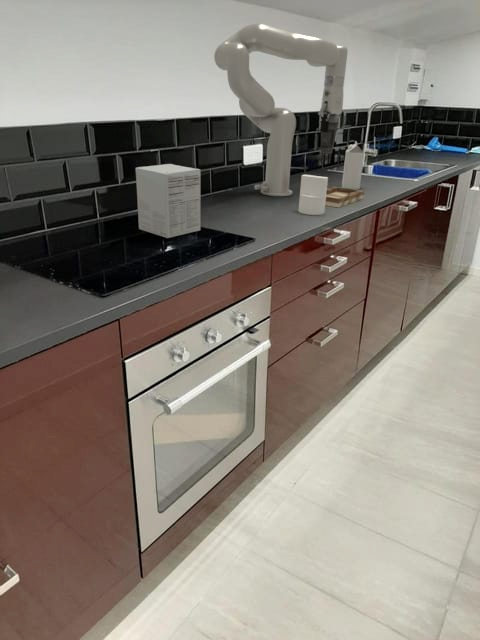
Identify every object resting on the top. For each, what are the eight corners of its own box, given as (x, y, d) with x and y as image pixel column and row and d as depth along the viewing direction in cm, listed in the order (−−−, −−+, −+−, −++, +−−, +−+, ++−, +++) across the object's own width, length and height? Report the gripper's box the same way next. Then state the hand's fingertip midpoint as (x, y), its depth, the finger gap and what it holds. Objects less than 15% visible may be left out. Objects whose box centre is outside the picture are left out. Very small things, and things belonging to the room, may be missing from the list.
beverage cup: (321, 154, 196) (327, 99, 188) (314, 151, 203) (319, 98, 194) (338, 154, 198) (344, 100, 190) (330, 152, 205) (336, 99, 196)
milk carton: (357, 186, 219) (363, 141, 211) (359, 189, 212) (365, 143, 204) (341, 185, 219) (347, 140, 211) (342, 188, 213) (348, 142, 205)
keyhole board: (338, 207, 179) (339, 198, 177) (307, 202, 185) (308, 193, 184) (363, 198, 195) (364, 190, 193) (333, 193, 202) (334, 185, 200)
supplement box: (201, 230, 145) (202, 169, 137) (167, 239, 136) (165, 173, 128) (172, 221, 152) (170, 163, 145) (137, 229, 143) (134, 167, 136)
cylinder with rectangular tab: (328, 211, 173) (332, 176, 167) (318, 216, 166) (322, 179, 160) (304, 207, 177) (307, 173, 171) (294, 212, 170) (297, 176, 164)
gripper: (332, 82, 181) (327, 133, 189) (352, 83, 194) (346, 131, 202) (314, 81, 185) (309, 131, 193) (335, 82, 198) (330, 129, 205)
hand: (328, 131), depth 197 cm, fingers closed on beverage cup, 7 cm apart
